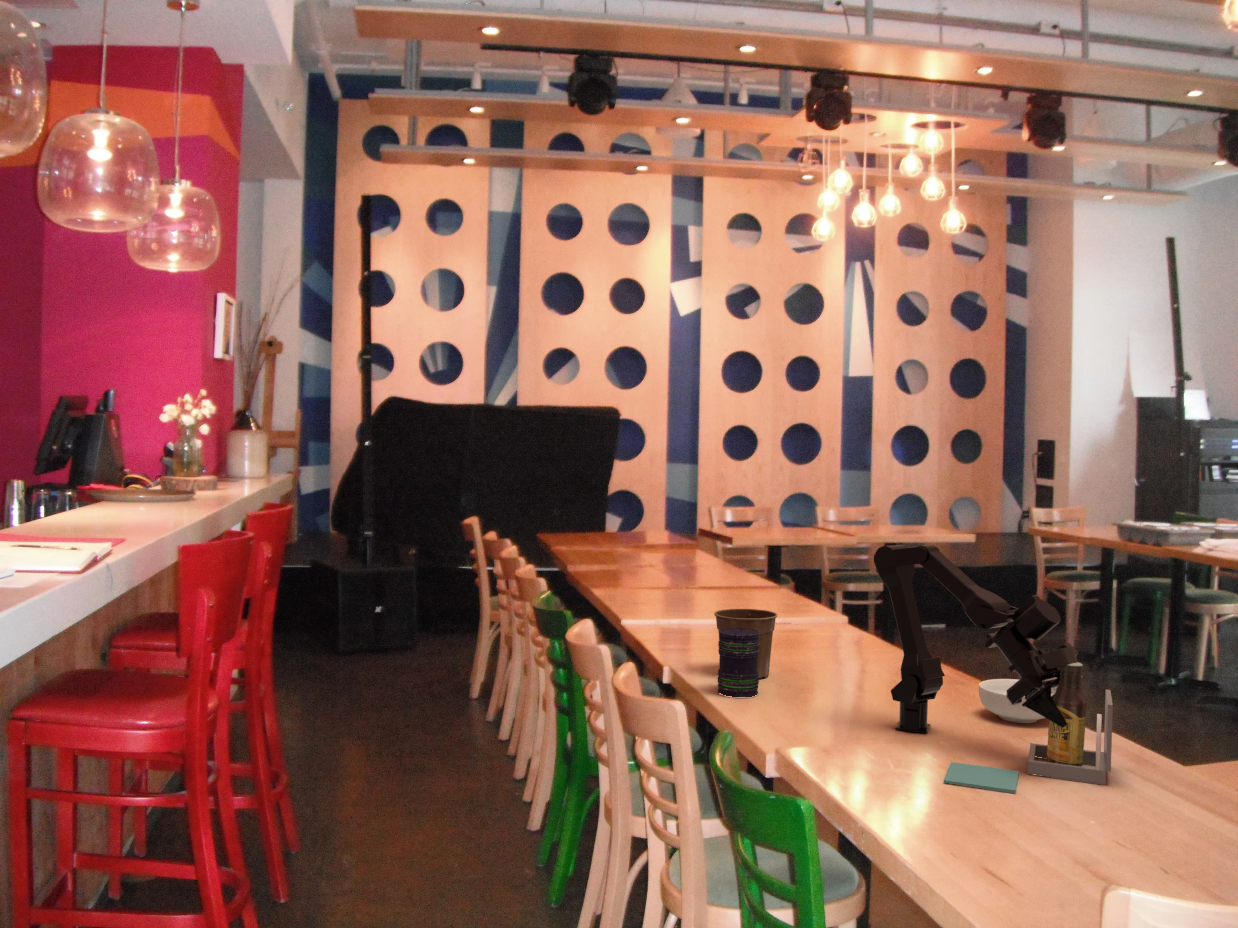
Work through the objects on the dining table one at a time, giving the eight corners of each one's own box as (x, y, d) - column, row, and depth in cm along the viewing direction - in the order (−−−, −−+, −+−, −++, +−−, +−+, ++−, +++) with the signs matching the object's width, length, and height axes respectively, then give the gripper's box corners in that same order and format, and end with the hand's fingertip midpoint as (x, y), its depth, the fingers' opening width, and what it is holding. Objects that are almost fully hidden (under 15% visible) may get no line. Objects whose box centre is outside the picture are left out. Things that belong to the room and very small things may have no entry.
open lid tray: (1030, 755, 204) (1032, 681, 204) (1107, 765, 199) (1110, 689, 199) (1027, 774, 192) (1029, 696, 192) (1110, 785, 187) (1112, 705, 187)
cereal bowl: (964, 717, 233) (965, 685, 233) (998, 705, 245) (999, 675, 245) (1039, 733, 221) (1040, 700, 221) (1071, 720, 233) (1072, 688, 233)
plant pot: (706, 678, 266) (707, 615, 266) (720, 666, 282) (722, 606, 281) (769, 684, 261) (771, 620, 261) (780, 671, 276) (782, 610, 276)
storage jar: (753, 700, 245) (755, 636, 245) (712, 695, 248) (714, 633, 248) (762, 690, 254) (763, 629, 254) (722, 686, 257) (724, 626, 257)
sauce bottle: (1039, 763, 198) (1043, 659, 198) (1065, 761, 200) (1069, 657, 200) (1065, 774, 192) (1069, 666, 191) (1091, 771, 194) (1095, 664, 194)
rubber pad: (950, 764, 197) (950, 761, 197) (1018, 774, 193) (1018, 770, 193) (943, 783, 186) (943, 780, 186) (1015, 793, 182) (1015, 790, 182)
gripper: (1023, 634, 193) (1079, 707, 184) (1075, 624, 204) (1129, 693, 196) (983, 668, 199) (1035, 740, 191) (1036, 657, 211) (1087, 724, 202)
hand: (1073, 723), depth 195 cm, fingers closed on sauce bottle, 6 cm apart
